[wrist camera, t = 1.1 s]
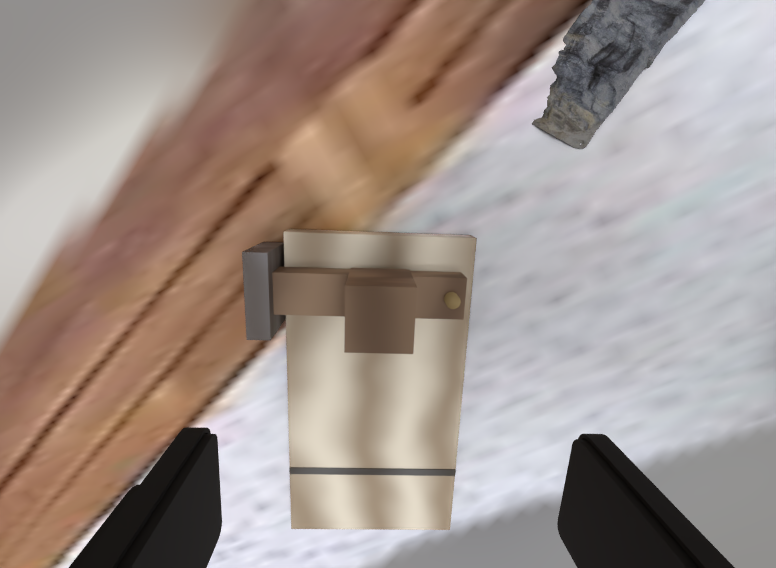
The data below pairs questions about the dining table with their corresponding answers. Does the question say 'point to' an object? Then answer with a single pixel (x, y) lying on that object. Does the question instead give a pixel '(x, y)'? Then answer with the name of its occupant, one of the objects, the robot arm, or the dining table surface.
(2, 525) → the dining table surface
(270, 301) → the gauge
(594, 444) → the robot arm
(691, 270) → the dining table surface
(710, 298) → the dining table surface
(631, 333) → the dining table surface
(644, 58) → the driftwood
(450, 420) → the board
